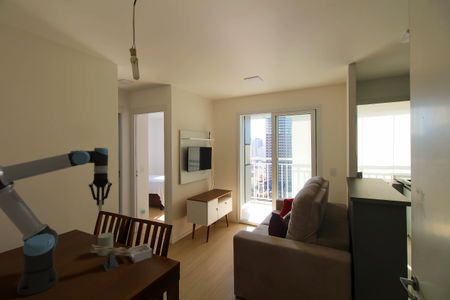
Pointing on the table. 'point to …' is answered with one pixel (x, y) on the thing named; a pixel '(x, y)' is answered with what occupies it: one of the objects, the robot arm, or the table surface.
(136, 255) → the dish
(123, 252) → the lever
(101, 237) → the can
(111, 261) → the fulcrum
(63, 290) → the table surface
